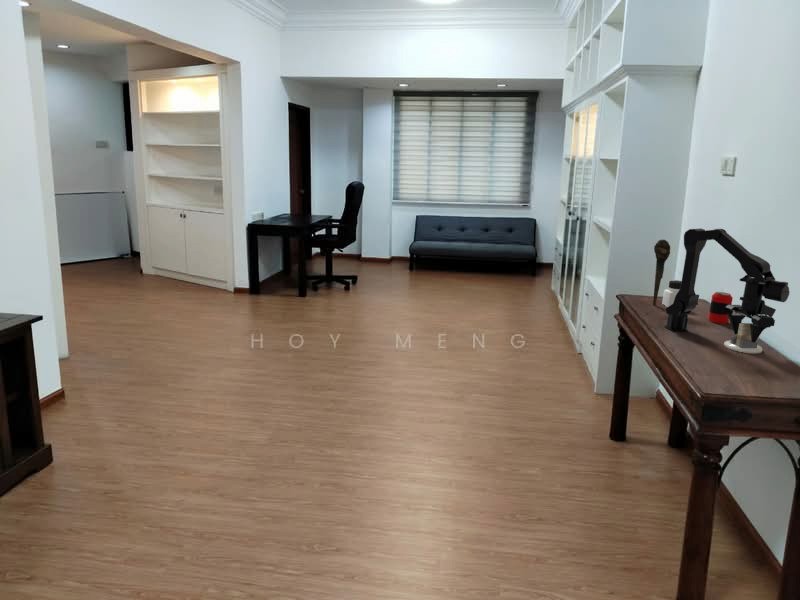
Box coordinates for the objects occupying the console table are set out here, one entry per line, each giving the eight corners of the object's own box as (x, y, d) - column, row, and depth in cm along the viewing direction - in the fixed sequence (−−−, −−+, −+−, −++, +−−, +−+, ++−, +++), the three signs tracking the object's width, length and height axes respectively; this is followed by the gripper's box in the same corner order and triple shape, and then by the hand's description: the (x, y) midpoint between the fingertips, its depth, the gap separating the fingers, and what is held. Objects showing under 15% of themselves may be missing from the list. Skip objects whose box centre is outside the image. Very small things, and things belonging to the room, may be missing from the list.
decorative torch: (659, 307, 269) (669, 241, 262) (643, 304, 274) (653, 239, 266) (664, 305, 274) (674, 240, 267) (648, 302, 279) (658, 238, 271)
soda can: (704, 320, 252) (708, 292, 249) (714, 318, 256) (719, 290, 253) (721, 324, 246) (726, 296, 243) (731, 322, 250) (737, 294, 247)
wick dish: (738, 353, 209) (740, 344, 208) (716, 342, 220) (718, 333, 219) (769, 353, 210) (771, 344, 209) (746, 343, 222) (748, 333, 221)
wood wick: (739, 346, 214) (743, 324, 212) (735, 344, 216) (739, 323, 214) (750, 346, 214) (755, 324, 212) (747, 344, 216) (751, 323, 214)
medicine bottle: (684, 308, 269) (688, 282, 267) (668, 308, 270) (672, 282, 267) (677, 305, 276) (681, 279, 274) (661, 304, 276) (665, 278, 274)
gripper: (793, 302, 203) (784, 346, 206) (755, 290, 221) (747, 330, 224) (763, 302, 201) (754, 346, 205) (727, 289, 219) (720, 330, 223)
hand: (744, 338), depth 214 cm, fingers open, 9 cm apart
